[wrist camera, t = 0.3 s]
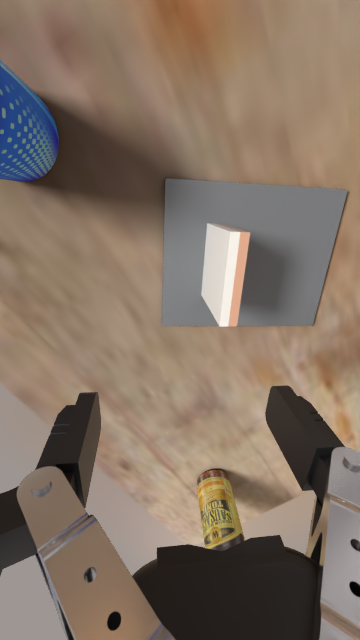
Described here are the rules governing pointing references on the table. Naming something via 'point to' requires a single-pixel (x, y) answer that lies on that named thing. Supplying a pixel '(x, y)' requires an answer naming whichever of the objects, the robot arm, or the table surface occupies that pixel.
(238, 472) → the table surface
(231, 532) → the sauce bottle
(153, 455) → the table surface
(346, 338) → the table surface
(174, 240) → the mat
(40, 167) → the beer can
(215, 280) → the tile
